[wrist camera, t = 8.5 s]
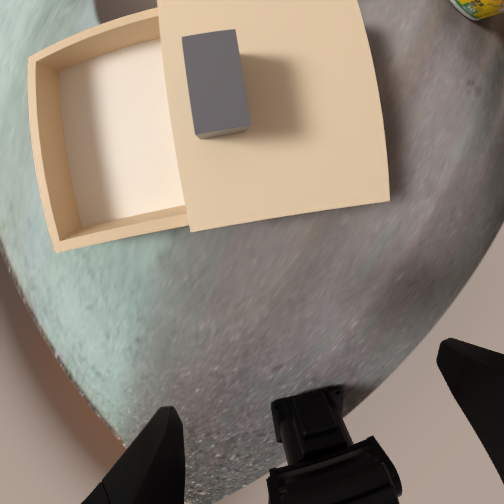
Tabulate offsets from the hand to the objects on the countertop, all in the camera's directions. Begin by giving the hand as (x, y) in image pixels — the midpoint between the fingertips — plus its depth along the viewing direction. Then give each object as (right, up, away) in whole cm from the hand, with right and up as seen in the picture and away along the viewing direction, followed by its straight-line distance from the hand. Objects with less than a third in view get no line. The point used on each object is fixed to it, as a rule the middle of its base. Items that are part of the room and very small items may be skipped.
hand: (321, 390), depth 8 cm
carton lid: (-1, +12, +5) cm, 13 cm away
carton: (-9, +12, +8) cm, 17 cm away
